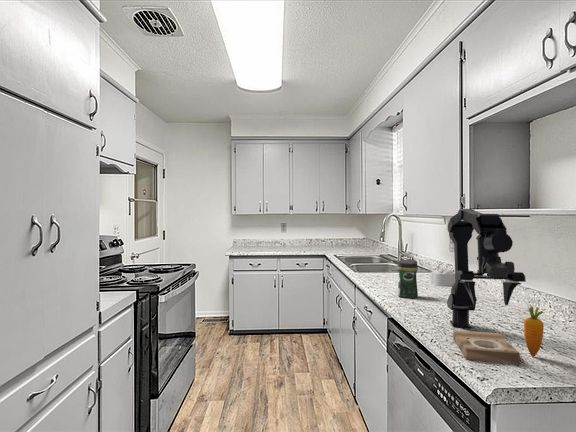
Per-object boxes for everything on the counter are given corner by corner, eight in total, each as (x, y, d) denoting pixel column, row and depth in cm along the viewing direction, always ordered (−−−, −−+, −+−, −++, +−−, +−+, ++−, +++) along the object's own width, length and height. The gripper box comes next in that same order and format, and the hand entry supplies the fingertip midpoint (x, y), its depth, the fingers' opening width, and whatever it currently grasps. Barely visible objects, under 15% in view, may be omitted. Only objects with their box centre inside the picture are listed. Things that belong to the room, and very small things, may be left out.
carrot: (535, 353, 116) (536, 304, 115) (547, 359, 111) (548, 308, 110) (519, 353, 115) (520, 304, 115) (530, 360, 110) (531, 308, 110)
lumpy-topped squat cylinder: (429, 283, 228) (429, 268, 227) (451, 283, 228) (451, 268, 228) (436, 286, 217) (436, 271, 217) (459, 286, 217) (459, 271, 217)
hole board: (453, 339, 128) (453, 330, 128) (498, 342, 125) (498, 333, 125) (466, 359, 110) (466, 349, 110) (519, 364, 107) (519, 353, 107)
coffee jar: (416, 295, 193) (417, 259, 193) (418, 299, 186) (419, 261, 185) (396, 294, 195) (397, 258, 195) (398, 298, 188) (398, 260, 187)
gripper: (465, 251, 112) (467, 306, 110) (533, 253, 109) (536, 308, 107) (453, 253, 123) (455, 302, 121) (515, 254, 120) (517, 305, 118)
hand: (490, 304), depth 116 cm, fingers open, 9 cm apart
